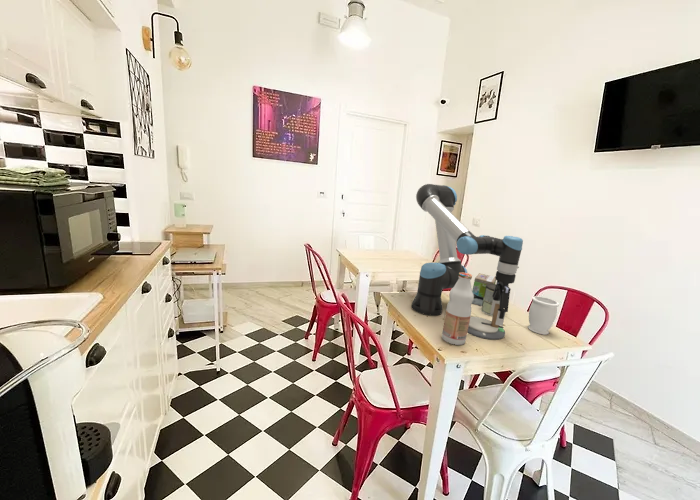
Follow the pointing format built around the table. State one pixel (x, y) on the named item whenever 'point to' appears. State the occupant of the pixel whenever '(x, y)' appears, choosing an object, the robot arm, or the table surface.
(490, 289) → the coffee can
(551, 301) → the jar
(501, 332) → the dial base
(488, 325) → the tuner dial
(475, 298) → the tea box
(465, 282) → the fruit juice
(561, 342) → the table surface
